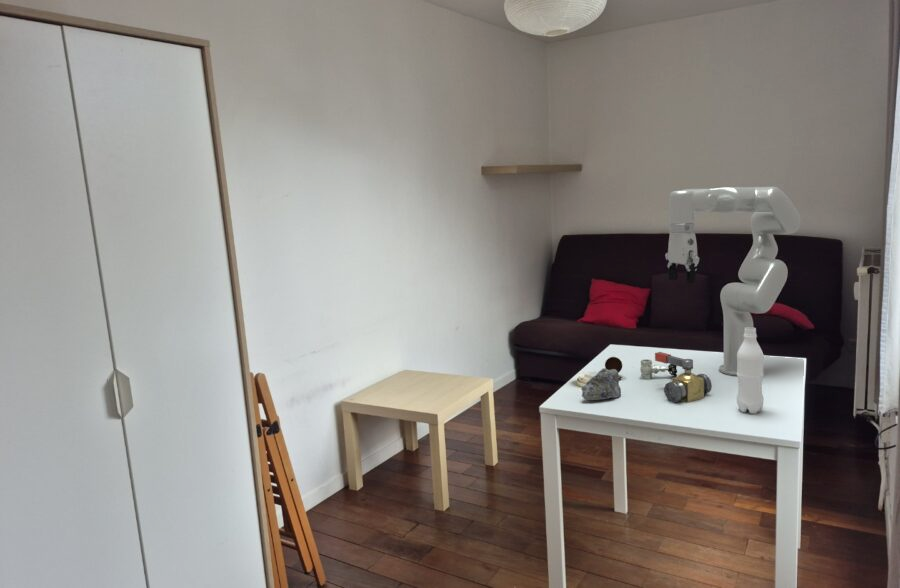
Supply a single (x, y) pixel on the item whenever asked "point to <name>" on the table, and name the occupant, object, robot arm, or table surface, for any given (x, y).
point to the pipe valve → (687, 387)
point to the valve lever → (674, 360)
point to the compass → (614, 365)
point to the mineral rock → (602, 386)
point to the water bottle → (750, 373)
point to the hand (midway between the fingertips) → (681, 281)
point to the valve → (655, 369)
